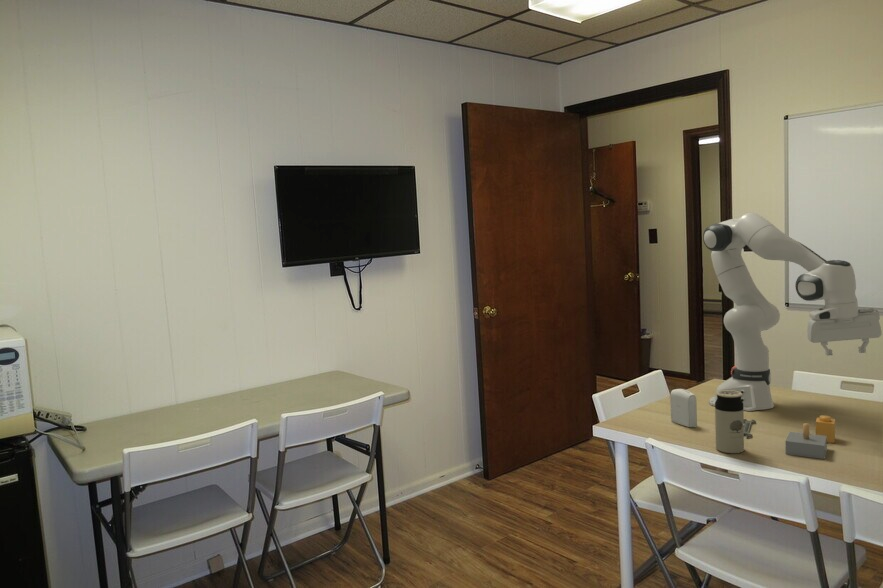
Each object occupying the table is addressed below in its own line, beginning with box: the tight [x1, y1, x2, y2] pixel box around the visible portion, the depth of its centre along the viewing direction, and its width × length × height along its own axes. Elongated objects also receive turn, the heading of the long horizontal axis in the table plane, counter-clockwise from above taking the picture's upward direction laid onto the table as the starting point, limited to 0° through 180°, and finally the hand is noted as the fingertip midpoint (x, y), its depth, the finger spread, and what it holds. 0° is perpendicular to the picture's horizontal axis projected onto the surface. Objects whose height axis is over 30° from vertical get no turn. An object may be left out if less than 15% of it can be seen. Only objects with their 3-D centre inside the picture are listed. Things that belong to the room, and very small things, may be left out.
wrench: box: [744, 418, 757, 440], centre depth 216 cm, size 5×2×20 cm
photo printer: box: [669, 388, 698, 428], centre depth 225 cm, size 10×4×12 cm, turn 20°
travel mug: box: [714, 390, 745, 454], centre depth 197 cm, size 8×8×18 cm
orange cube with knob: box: [815, 414, 836, 444], centre depth 202 cm, size 5×5×7 cm
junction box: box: [785, 422, 828, 460], centre depth 193 cm, size 10×10×8 cm
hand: (845, 353), depth 204 cm, fingers open, 8 cm apart
